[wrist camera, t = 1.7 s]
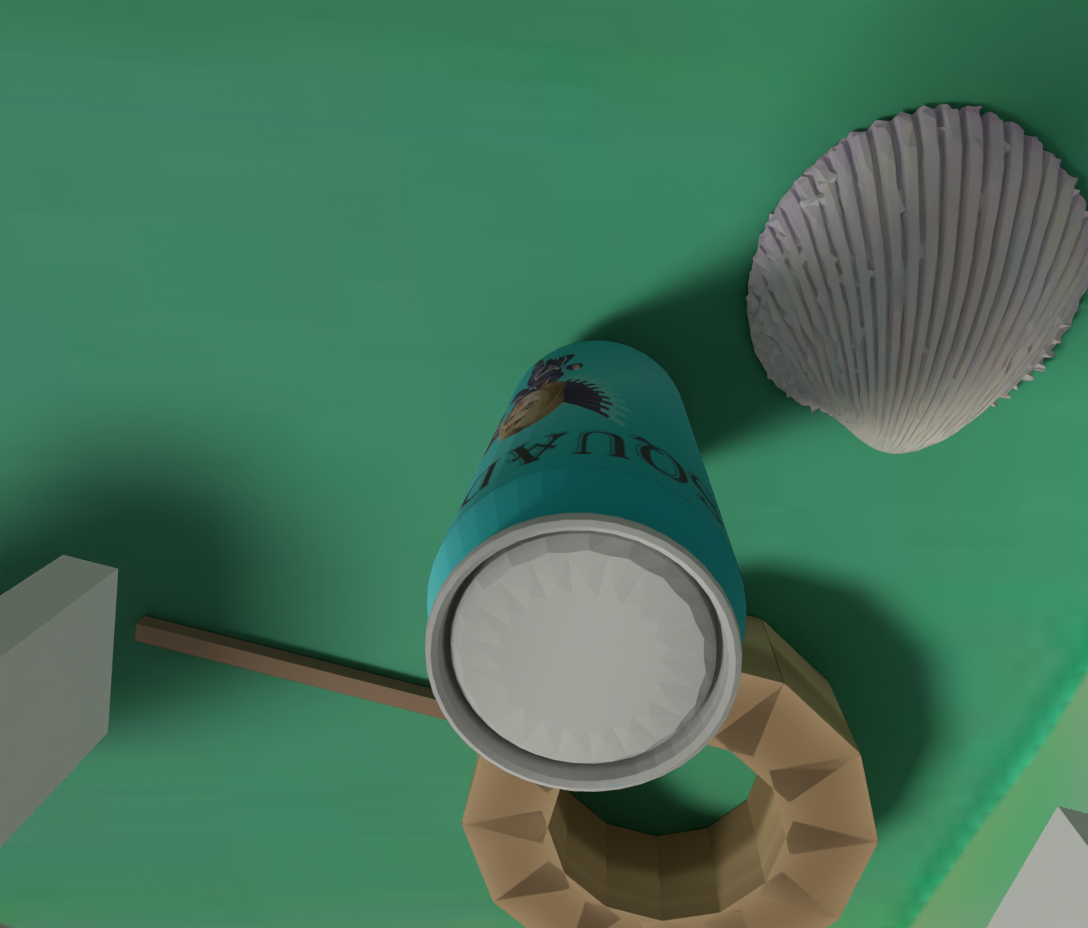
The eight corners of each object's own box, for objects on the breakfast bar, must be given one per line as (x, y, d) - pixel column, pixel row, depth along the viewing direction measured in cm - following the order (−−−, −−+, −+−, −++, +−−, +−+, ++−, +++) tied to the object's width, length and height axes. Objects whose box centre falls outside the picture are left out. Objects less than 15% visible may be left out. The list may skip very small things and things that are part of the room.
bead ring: (528, 559, 29) (516, 615, 25) (896, 653, 29) (938, 722, 25) (454, 842, 33) (435, 924, 30) (770, 922, 33) (790, 1015, 30)
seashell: (734, 473, 24) (799, 123, 19) (721, 393, 29) (769, 94, 23) (1082, 501, 23) (1253, 142, 18) (1010, 414, 28) (1129, 109, 22)
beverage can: (605, 294, 25) (596, 424, 11) (716, 421, 26) (837, 687, 12) (479, 407, 27) (333, 645, 13) (589, 522, 28) (567, 860, 14)
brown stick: (144, 615, 31) (135, 623, 30) (486, 702, 31) (483, 711, 30) (143, 632, 31) (134, 640, 31) (482, 718, 31) (479, 728, 31)
